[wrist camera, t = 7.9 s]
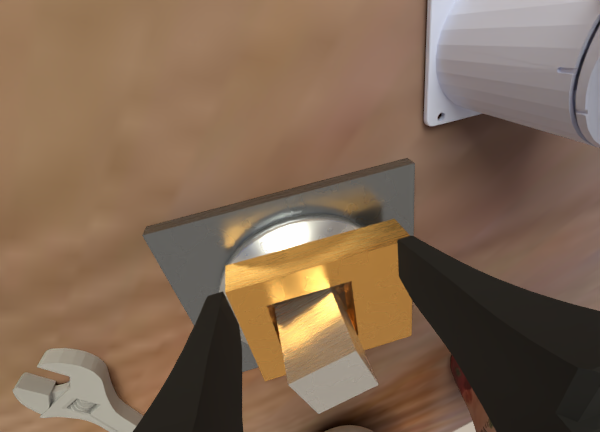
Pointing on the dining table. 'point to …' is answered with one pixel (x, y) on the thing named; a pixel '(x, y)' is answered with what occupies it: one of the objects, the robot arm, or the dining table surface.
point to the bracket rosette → (298, 257)
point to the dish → (349, 429)
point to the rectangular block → (322, 350)
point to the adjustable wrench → (76, 391)
